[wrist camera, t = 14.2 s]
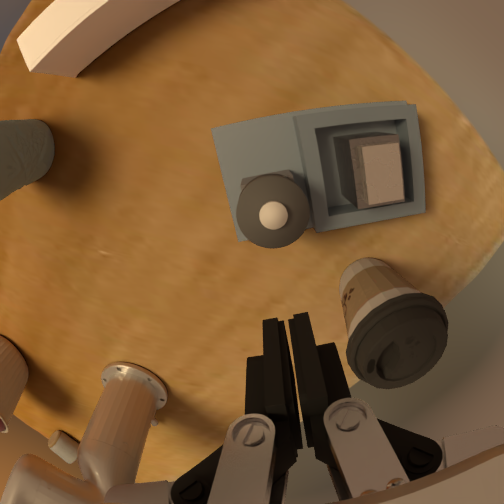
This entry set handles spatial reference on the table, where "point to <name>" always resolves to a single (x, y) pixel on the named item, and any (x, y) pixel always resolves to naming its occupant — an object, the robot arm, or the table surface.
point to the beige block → (370, 168)
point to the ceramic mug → (63, 446)
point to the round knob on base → (272, 211)
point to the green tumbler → (23, 153)
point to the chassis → (320, 158)
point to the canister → (10, 380)
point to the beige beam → (81, 32)
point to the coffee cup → (389, 325)
